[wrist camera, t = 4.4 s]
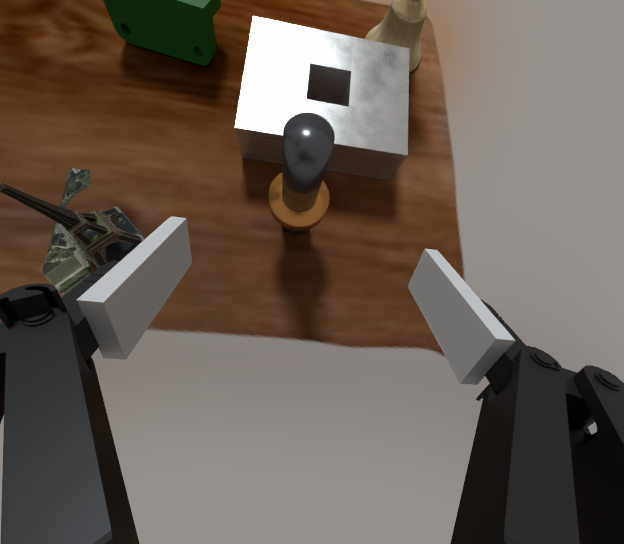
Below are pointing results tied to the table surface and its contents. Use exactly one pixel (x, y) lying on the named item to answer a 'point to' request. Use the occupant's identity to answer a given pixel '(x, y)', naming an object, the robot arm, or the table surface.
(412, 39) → the hand bell
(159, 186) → the table surface
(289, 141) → the pin
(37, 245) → the table surface
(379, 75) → the hole block
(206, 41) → the clamp
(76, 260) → the eiffel tower figurine
